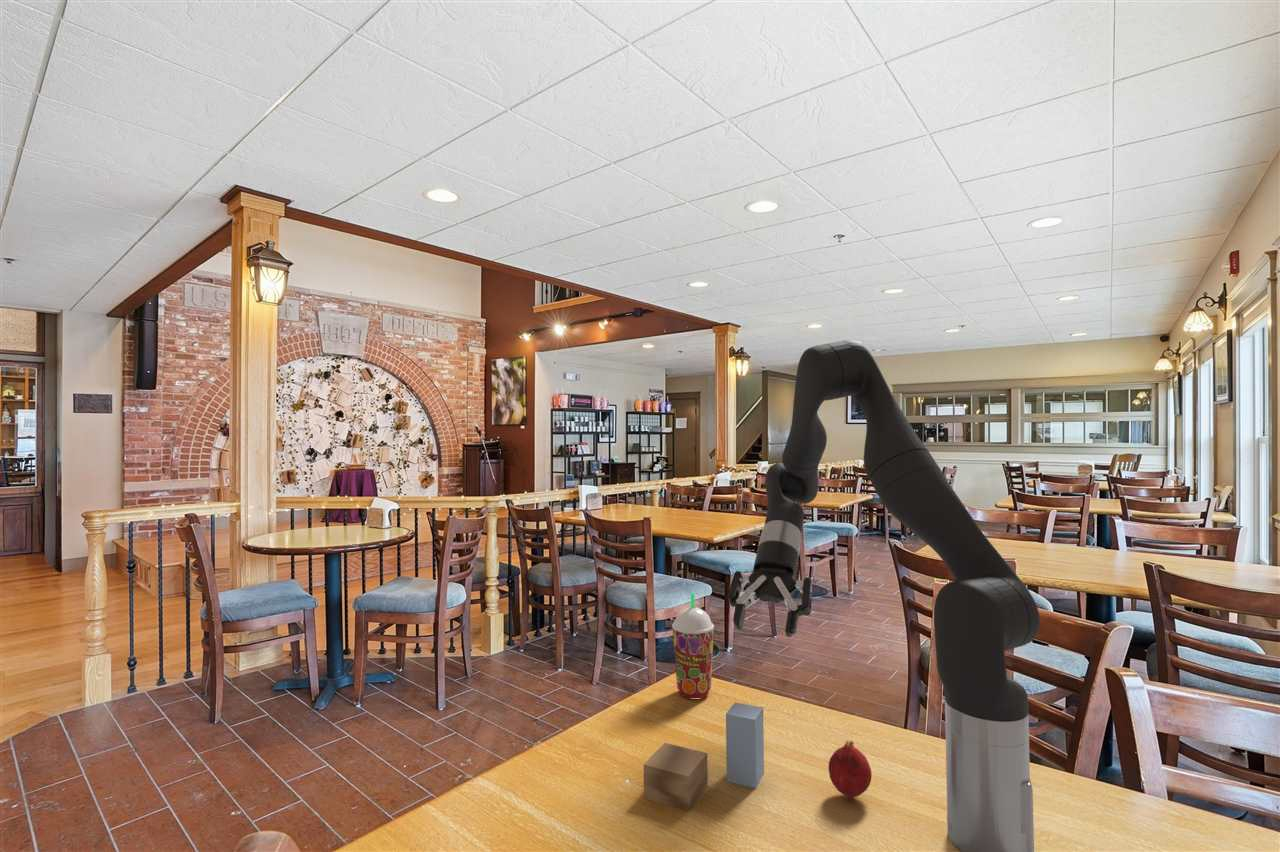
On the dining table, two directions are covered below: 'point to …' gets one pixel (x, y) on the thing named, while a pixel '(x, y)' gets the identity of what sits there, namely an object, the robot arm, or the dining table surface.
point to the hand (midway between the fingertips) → (762, 631)
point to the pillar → (745, 744)
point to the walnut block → (675, 776)
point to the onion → (849, 770)
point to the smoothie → (693, 651)
